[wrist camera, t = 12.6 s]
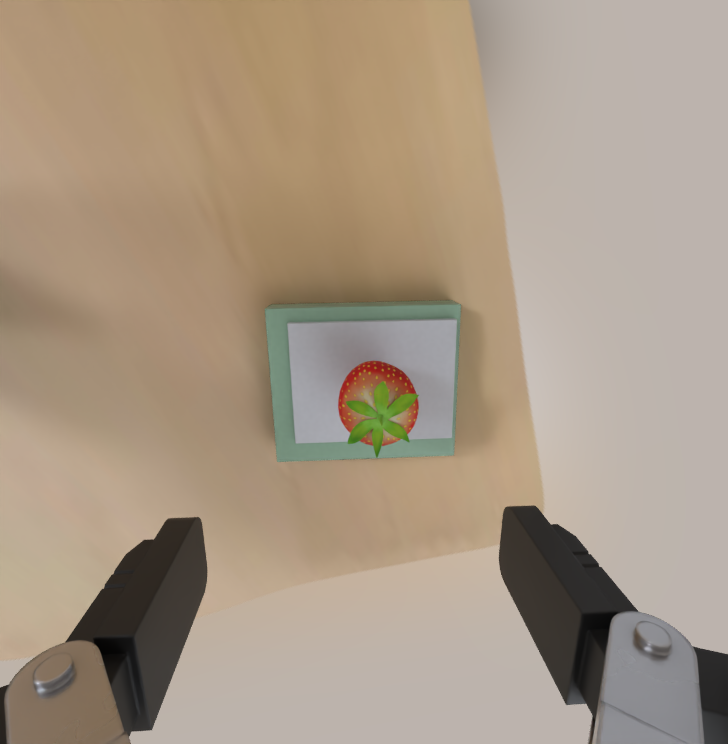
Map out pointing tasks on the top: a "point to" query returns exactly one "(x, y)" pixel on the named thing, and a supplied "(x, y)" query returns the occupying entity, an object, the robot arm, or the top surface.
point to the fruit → (377, 404)
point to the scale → (346, 351)
